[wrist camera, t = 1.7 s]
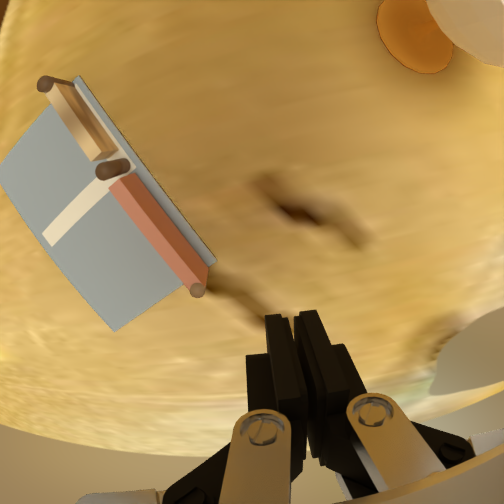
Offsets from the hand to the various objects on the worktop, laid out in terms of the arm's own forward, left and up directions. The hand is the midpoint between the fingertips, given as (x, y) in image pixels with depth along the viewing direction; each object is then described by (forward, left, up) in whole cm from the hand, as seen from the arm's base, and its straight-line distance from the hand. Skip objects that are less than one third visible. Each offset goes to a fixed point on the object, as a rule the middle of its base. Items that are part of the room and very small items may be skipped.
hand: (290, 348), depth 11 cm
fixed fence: (-16, -7, -19) cm, 25 cm away
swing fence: (-4, -7, -18) cm, 20 cm away
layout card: (-10, -12, -19) cm, 25 cm away
